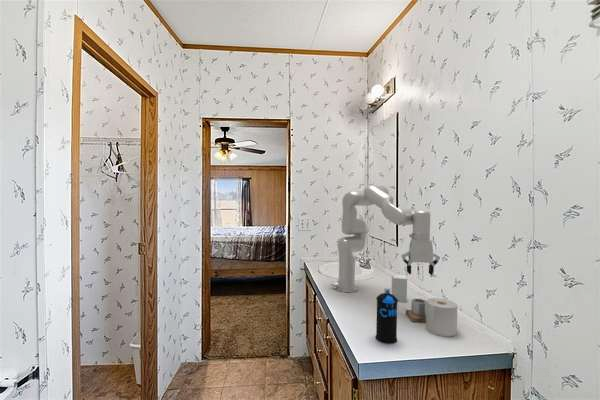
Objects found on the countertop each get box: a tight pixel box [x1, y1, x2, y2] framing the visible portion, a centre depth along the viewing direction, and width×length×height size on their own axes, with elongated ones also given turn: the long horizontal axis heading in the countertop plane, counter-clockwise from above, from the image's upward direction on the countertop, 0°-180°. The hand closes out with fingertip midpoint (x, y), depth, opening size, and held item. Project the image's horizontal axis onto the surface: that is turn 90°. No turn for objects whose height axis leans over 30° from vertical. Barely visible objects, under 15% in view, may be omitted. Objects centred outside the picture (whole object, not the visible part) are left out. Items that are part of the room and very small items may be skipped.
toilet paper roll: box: [425, 297, 458, 337], centre depth 129 cm, size 12×12×12 cm
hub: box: [410, 298, 427, 317], centre depth 141 cm, size 6×6×6 cm
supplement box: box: [390, 274, 408, 303], centre depth 166 cm, size 7×7×13 cm
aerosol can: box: [375, 287, 399, 344], centre depth 120 cm, size 8×8×20 cm
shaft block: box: [405, 300, 426, 324], centre depth 141 cm, size 10×10×8 cm
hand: (419, 273), depth 141 cm, fingers open, 9 cm apart
